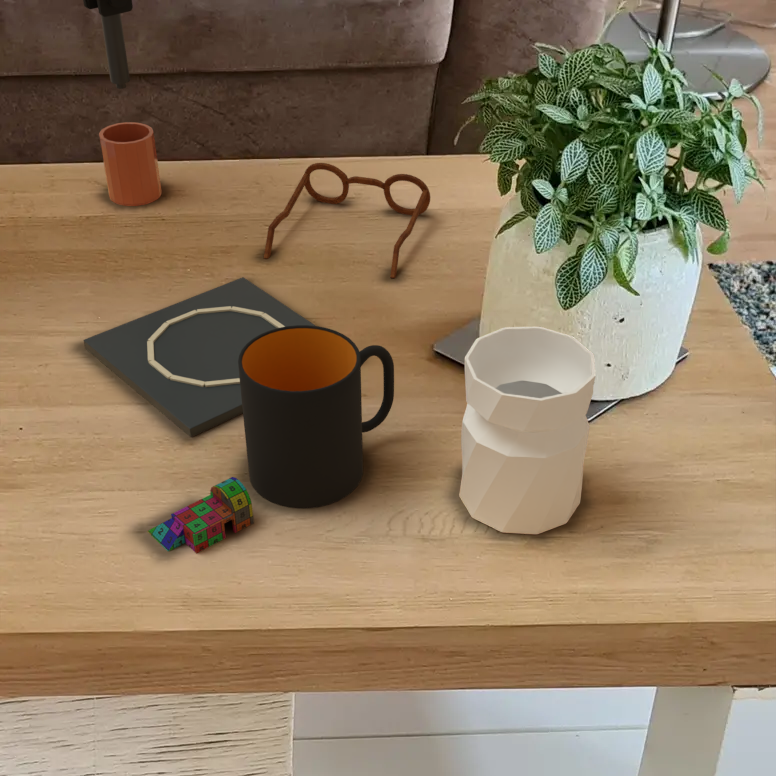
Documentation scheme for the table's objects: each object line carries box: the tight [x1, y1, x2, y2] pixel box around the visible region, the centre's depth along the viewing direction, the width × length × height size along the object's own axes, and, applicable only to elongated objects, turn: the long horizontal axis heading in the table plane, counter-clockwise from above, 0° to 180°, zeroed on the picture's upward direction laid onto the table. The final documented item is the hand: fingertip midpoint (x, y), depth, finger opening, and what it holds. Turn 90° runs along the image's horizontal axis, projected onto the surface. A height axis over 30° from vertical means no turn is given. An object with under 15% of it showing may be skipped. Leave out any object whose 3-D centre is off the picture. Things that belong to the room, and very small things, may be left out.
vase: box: [458, 326, 597, 535], centre depth 80 cm, size 9×9×12 cm
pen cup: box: [98, 121, 163, 207], centre depth 117 cm, size 5×5×7 cm
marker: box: [100, 13, 131, 90], centre depth 108 cm, size 2×2×13 cm
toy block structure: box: [146, 476, 255, 554], centre depth 79 cm, size 6×4×3 cm
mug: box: [238, 325, 395, 509], centre depth 83 cm, size 8×12×10 cm
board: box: [82, 276, 316, 438], centre depth 97 cm, size 16×16×1 cm
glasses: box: [263, 162, 431, 279], centre depth 112 cm, size 13×13×5 cm
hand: (108, 7), depth 108 cm, fingers closed on marker, 2 cm apart
